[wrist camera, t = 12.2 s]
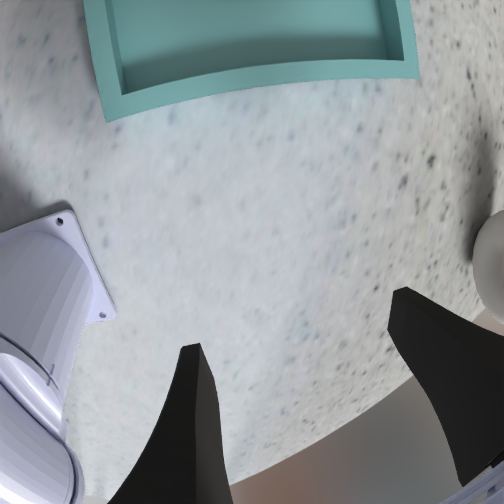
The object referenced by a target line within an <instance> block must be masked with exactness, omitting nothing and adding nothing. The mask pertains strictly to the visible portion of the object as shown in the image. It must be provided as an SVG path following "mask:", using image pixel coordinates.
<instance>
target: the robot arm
mask: <svg viewBox="0 0 504 504" xmlns="http://www.w3.org/2000/svg"><path fill="white" fill-rule="evenodd" d="M58 218H61V219H62V220H63V223H60V222H59V221H58ZM101 312H103V313H105V314H106V315H103V314H101ZM116 314H117V310H116V308H115V306H114V304H113V302H112V300H111V298H110V295H109V293H108V291H107V289H106V287H105V285H104V283H103V281H102V278H101V276H100V274H99V272H98V270H97V267H96V265H95V263H94V261H93V258H92V256H91V254H90V251H89V249H88V246H87V244H86V242H85V239H84V237H83V234H82V232H81V229H80V226H79V224H78V221H77V219H76V216H75V214H74V212H73V211H71V210H69V209H65V210H62V211H59V212H56V213H53V214H51V215H48V216H45V217H42V218H39V219H36V220H34V221H31V222H28V223H25V224H23V225H20V226H17V227H15V228H12V229H9V230H7V231H4V232H2V233H0V504H82V503H83V500H84V493H85V479H84V474H83V470H82V467H81V464H80V462H79V460H78V458H77V456H76V454H75V453H74V452H73V451H72V449H71V448H70V447H69V446H68V445H67V444H66V443H65V441H66V434H67V428H68V423H67V422H66V421H65V420H64V418H63V415H62V412H63V407H64V402H65V397H66V393H67V389H68V385H69V381H70V376H71V373H72V369H73V365H74V361H75V357H76V354H77V350H78V347H79V343H80V340H81V336H82V333H83V330H84V326H85V324H90V323H95V322H100V321H106V320H111V319H114V318H115V317H116ZM387 330H388V332H389V334H390V336H391V338H392V340H393V342H394V344H395V346H396V348H397V350H398V352H399V353H400V355H401V356H402V358H403V359H404V361H405V362H406V364H407V365H408V367H409V368H410V370H411V371H412V373H413V374H414V376H415V377H416V379H417V380H418V382H419V383H420V385H421V386H422V388H423V389H424V391H425V392H426V394H427V396H428V398H429V399H430V401H431V403H432V405H433V408H434V410H435V412H436V414H437V416H438V418H439V420H440V423H441V425H442V428H443V430H444V433H445V435H446V438H447V441H448V444H449V447H450V449H451V452H452V455H453V459H454V463H455V467H456V471H457V475H458V479H459V481H460V483H461V485H462V487H464V486H465V485H467V484H468V483H470V482H471V481H473V480H475V479H476V478H477V477H479V476H480V475H482V474H483V473H484V472H486V471H487V470H489V469H490V468H491V467H492V468H493V469H492V470H490V471H489V472H488V473H486V474H485V475H483V476H482V477H481V478H479V479H478V480H476V481H475V482H473V483H472V484H470V485H469V486H467V487H466V488H464V489H463V490H461V491H460V492H458V493H456V494H455V495H453V496H452V497H450V498H448V499H447V500H445V501H443V502H441V503H440V504H469V503H470V502H471V501H473V500H474V499H476V498H477V497H479V496H480V495H482V494H483V493H484V492H486V491H487V490H488V492H487V497H486V498H485V499H483V500H482V501H480V502H479V503H477V504H504V336H501V335H499V334H496V333H494V332H491V331H489V330H486V329H484V328H482V327H480V326H477V325H476V324H473V323H472V322H470V321H468V320H466V319H464V318H462V317H460V316H458V315H456V314H454V313H453V312H451V311H449V310H447V309H445V308H444V307H442V306H440V305H438V304H437V303H435V302H433V301H432V300H430V299H428V298H426V297H425V296H423V295H421V294H419V293H418V292H416V291H414V290H412V289H410V288H408V287H404V288H401V289H398V290H395V291H393V297H392V304H391V311H390V317H389V323H388V329H387ZM107 504H233V500H232V497H231V492H230V488H229V483H228V479H227V474H226V470H225V464H224V457H223V446H222V435H221V423H220V411H219V402H218V396H217V391H216V386H215V381H214V377H213V375H212V372H211V370H210V367H209V365H208V362H207V360H206V357H205V355H204V352H203V350H202V347H201V345H200V343H197V344H192V345H187V346H183V347H182V348H181V350H180V354H179V358H178V362H177V366H176V370H175V373H174V377H173V380H172V383H171V386H170V389H169V392H168V395H167V398H166V401H165V403H164V406H163V408H162V411H161V413H160V416H159V419H158V421H157V423H156V426H155V428H154V430H153V432H152V434H151V436H150V438H149V440H148V442H147V444H146V446H145V448H144V450H143V452H142V454H141V455H140V457H139V459H138V461H137V462H136V464H135V466H134V467H133V469H132V471H131V472H130V474H129V475H128V477H127V478H126V479H125V481H124V482H123V484H122V485H121V487H120V488H119V489H118V491H117V492H116V494H115V495H114V496H113V497H112V499H111V500H110V501H109V502H108V503H107Z"/></svg>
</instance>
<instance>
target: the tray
mask: <svg viewBox="0 0 504 504" xmlns="http://www.w3.org/2000/svg"><path fill="white" fill-rule="evenodd" d="M83 4H84V12H85V19H86V26H87V32H88V38H89V44H90V50H91V56H92V61H93V66H94V71H95V76H96V81H97V86H98V91H99V95H100V100H101V104H102V108H103V113H104V117H105V121H106V123H107V122H110V121H113V120H116V119H119V118H123V117H126V116H129V115H133V114H136V113H139V112H143V111H147V110H150V109H154V108H158V107H162V106H165V105H169V104H174V103H178V102H182V101H186V100H191V99H195V98H200V97H205V96H210V95H215V94H220V93H225V92H231V91H237V90H243V89H249V88H256V87H263V86H270V85H278V84H287V83H296V82H307V81H319V80H334V79H357V78H405V79H420V73H419V63H418V53H417V45H416V37H415V30H414V24H413V18H412V12H411V6H410V1H409V0H83Z"/></svg>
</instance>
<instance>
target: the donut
mask: <svg viewBox="0 0 504 504" xmlns="http://www.w3.org/2000/svg"><path fill="white" fill-rule="evenodd" d="M472 264H473V276H474V280H475V284H476V288H477V291H478V294H479V296H480V298H481V300H482V302H483V304H484V306H485V307H486V308H487V310H488V311H489V312H490V314H491V315H492V316H493V317H494V318H495V319H496V320H498V321H499V322H500V323H501V324H503V325H504V210H501V211H500V212H498V213H496V214H495V215H493V216H491V217H490V218H488V219H487V220H486V222H485V223H484V225H483V226H482V227H481V229H480V230H479V232H478V235H477V238H476V241H475V243H474V249H473V259H472Z"/></svg>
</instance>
